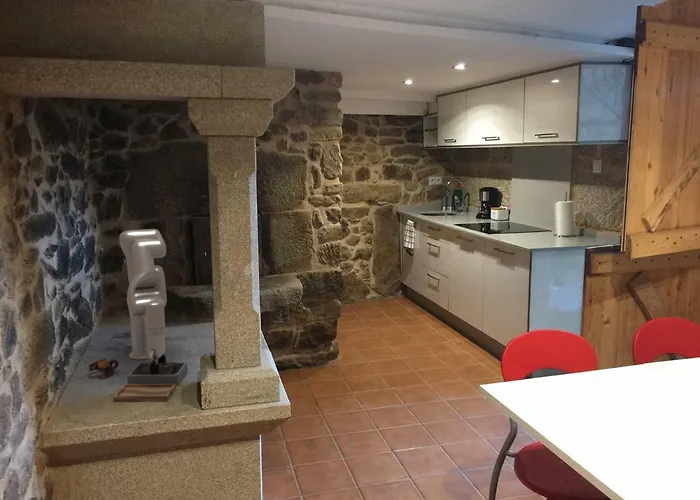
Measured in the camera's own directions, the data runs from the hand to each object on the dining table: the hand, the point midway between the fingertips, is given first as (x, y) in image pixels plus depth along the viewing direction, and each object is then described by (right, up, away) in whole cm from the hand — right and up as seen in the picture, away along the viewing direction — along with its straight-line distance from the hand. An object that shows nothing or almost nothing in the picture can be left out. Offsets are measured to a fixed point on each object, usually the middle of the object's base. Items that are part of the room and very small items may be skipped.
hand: (158, 369), depth 234 cm
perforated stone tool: (0, -5, +1) cm, 5 cm away
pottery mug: (-25, -4, +6) cm, 26 cm away
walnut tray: (0, -7, -14) cm, 16 cm away
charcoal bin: (0, -4, +1) cm, 5 cm away
